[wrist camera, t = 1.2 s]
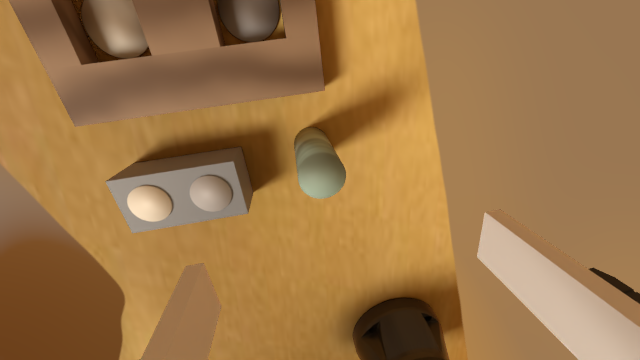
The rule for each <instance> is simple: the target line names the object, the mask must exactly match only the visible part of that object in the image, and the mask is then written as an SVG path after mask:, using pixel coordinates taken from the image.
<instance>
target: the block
mask: <svg viewBox="0 0 640 360" xmlns="http://www.w3.org/2000/svg"><path fill="white" fill-rule="evenodd" d="M105 182H106V184H107V185H108V187H109V189H110V191H111V193H112V195H113V197H114V199H115V201H116V203H117V205H118V206H119V208H120V210H121V212H122V214H123V216H124V218H125V220H126V222H127V224H128V226H129V227H130V229H131V231H132V233H137V232H143V231H149V230H155V229H161V228H166V227H172V226H178V225H184V224H190V223H195V222H201V221H207V220H213V219H219V218H225V217H230V216H236V215H242V214H248V212H249V208H250V204H251V200H252V196H253V190H252V186H251V182H250V178H249V174H248V171H247V167H246V163H245V159H244V155H243V152H242V148H241V147H235V148H228V149H222V150H216V151H209V152H203V153H196V154H190V155H183V156H177V157H170V158H164V159H158V160H151V161H145V162H138V163H133V164H132V165H130V166H128V167H127V168H125V169H124V170H122V171H121V172H119V173H118V174H116V175H115V176H113V177H112V178H110V179H109V180H107V181H105Z"/></svg>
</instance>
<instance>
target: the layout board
mask: <svg viewBox="0 0 640 360" xmlns="http://www.w3.org/2000/svg"><path fill="white" fill-rule="evenodd" d="M9 2H10V4H11V6H12V8H13V9H14V11H15V13H16V15H17V17H18V19H19V21H20V23H21V25H22V27H23V28H24V30H25V32H26V34H27V36H28V38H29V40H30V42H31V44H32V46H33V47H34V49H35V51H36V53H37V55H38V57H39V59H40V61H41V63H42V65H43V66H44V68H45V70H46V72H47V74H48V76H49V78H50V80H51V82H52V84H53V85H54V87H55V89H56V91H57V93H58V95H59V97H60V99H61V101H62V103H63V104H64V106H65V108H66V110H67V112H68V114H69V116H70V118H71V120H72V121H73V123H74V125H75V127H77V126H83V125H90V124H97V123H104V122H111V121H118V120H125V119H132V118H139V117H146V116H153V115H159V114H166V113H173V112H180V111H187V110H194V109H201V108H208V107H215V106H222V105H228V104H235V103H242V102H249V101H256V100H263V99H270V98H277V97H284V96H291V95H298V94H304V93H311V92H318V91H325V87H324V78H323V69H322V59H321V50H320V41H319V32H318V23H317V14H316V5H315V0H280V4H281V11H282V17H283V23H284V30H285V36H286V38H283V39H276V40H268V41H262V40H264V39H266V38H267V37H268V36H270V35H271V34H272V32H273V31H274V29H275V27H276V25H277V22H278V18H279V5H278V0H218V11H219V15H220V18H221V20H222V22H223V24H224V25H225V27H226V28H227V29H228V31H229V32H230V33H231V34H233V35H234V36H235V37H237V38H238V39H240V40H243V41H246V42H253V43H245V44H237V45H230V46H225V43H224V39H223V35H222V31H221V26H220V22H219V18H218V14H217V10H216V6H215V2H214V0H84V1H83V4H82V9H81V16H82V21H83V25H84V28H85V30H86V32H87V34H88V35H89V37H90V38H91V39H92V41H93V42H94V43H95V44H96V45H97V46H98V47H99V48H100V49H102V50H103V51H104V52H106V53H108V54H110V55H112V56H115V57H118V58H125V59H123V60H115V61H107V62H100V63H99V62H98V59H97V57H96V55H95V53H94V50H93V48H92V46H91V44H90V41H89V39H88V37H87V34H86V32H85V30H84V28H83V25H82V23H81V21H80V19H79V16H78V14H77V12H76V10H75V7H74V5H73V3H72V1H71V0H9ZM259 41H260V42H259ZM148 47H149V49H150V52H151V55H152V56H146V57H138V56H140V55H142V54H143V53H144V52H145V51H146V50H147V49H148ZM135 57H138V58H135Z"/></svg>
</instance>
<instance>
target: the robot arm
mask: <svg viewBox="0 0 640 360" xmlns="http://www.w3.org/2000/svg"><path fill="white" fill-rule="evenodd" d="M477 257H478V258H479V259H480V260H481V261H482V263H484V264H485V265H486V267H488V268H489V269H490V271H491V272H492V273H493V274H494V275H495V276H496V277H497V278H498V279H499V280H500V281H501V282H502V283H503V284H504V285H505V286H506V287H507V288H508V289H509V290H510V291H511V292H512V293H513V294H514V295H515V296H516V297H517V298H518V299H519V300H520V301H521V302H522V303H523V304H524V305H525V306H526V307H527V308H528V309H529V310H530V311H531V312H532V313H533V314H534V315H535V316H536V317H537V318H538V319H539V320H540V321H541V322H542V323H543V324H544V325H545V326H546V327H547V328H548V329H549V330H550V331H551V332H552V333H553V334H554V335H555V336H556V337H557V338H558V339H559V340H560V341H561V342H562V343H563V344H564V345H565V346H566V347H567V348H568V349H569V350H570V351H571V352H572V353H573V354H574V355H575V356H576V358H578V359H579V360H640V294H639V293H638V292H634V291H633V289H632V288H630V287H628V286H627V285H625V284H624V283H622V282H621V281H619V280H618V279H616V278H615V277H612V276H610V275H608V274H606V273H604V272H601V271H599V270H597V269H595V268H590V269H587V268H586V267H584V266H583V265H581V264H580V263H579V262H577V261H575V260H574V259H573V258H571V257H570V256H568V255H567V254H565V253H564V252H562V251H561V250H559V249H558V248H556V247H555V246H554V245H552V244H551V243H549V242H548V241H546V240H545V239H543V238H542V237H540V236H539V235H537V234H536V233H534V232H533V231H531V230H530V229H528V228H527V227H526V226H524V225H523V224H521V223H520V222H518V221H517V220H515V219H514V218H512V217H511V216H509V215H508V214H506V213H505V212H504V211H502V210H500V209H499V210H493V211H488V212H485V215H484V220H483V226H482V232H481V237H480V244H479V249H478V254H477ZM220 309H221V304H220V302H219V299H218V297H217V294H216V292H215V290H214V287H213V285H212V282H211V280H210V278H209V275H208V273H207V270H206V268H205V265H204V263H200V264H195V265H189V266H186V267H185V269H184V271H183V273H182V275H181V277H180V279H179V281H178V283H177V285H176V287H175V290H174V292H173V294H172V296H171V298H170V300H169V302H168V304H167V306H166V308H165V310H164V312H163V314H162V316H161V319H160V321H159V323H158V325H157V327H156V329H155V331H154V333H153V335H152V337H151V339H150V341H149V343H148V345H147V347H146V350H145V352H144V354H143V356H142V358H141V360H207V359H208V355H209V352H210V348H211V344H212V340H213V336H214V332H215V328H216V325H217V321H218V317H219V313H220ZM353 340H354V344H355V348H356V352H357V354H358V356H359V358H360V360H449V357H448V353H447V349H446V345H445V340H444V336H443V332H442V328H441V324H440V322H439V320H438V318H437V316H436V315H435V313H434V311H433V310H432V308H431V307H430V306H429V305H428V304H426V303H425V302H423V301H420V300H417V299H412V298H399V299H393V300H389V301H386V302H383V303H381V304H379V305H377V306H375V307H373V308H372V309H370V310H369V311H367V312H366V313H365V314H364V315H363V316H362V317H361V318H360V319H359V321H358V322H357V324H356V326H355V328H354V331H353Z"/></svg>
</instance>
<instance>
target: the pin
mask: <svg viewBox="0 0 640 360" xmlns="http://www.w3.org/2000/svg"><path fill="white" fill-rule="evenodd" d="M294 147H295V156H296V164H297V173H298V181H299V185H300V187H301V189H302V190H303V191H304V192H305V193H306V194H307V195H309V196H311V197H313V198H319V199H322V198H328V197H331V196H333V195H335V194H336V193H337V192H339V191H340V189H341V188H342V187H343V185H344V183H345V179H346V171H345V168H344V166H343V164H342V162H341V161H340V159H339V157H338V155H337V154H336V152H335V150H334V149H333V147H332V145H331V143H330V142H329V140H328V138H327V137H326V135H325V133H324V132H323V131H322V130H320V129H318V128H315V127H308V128H305V129H303V130H301V131H300V132H299V133H298V134H297V136H296V138H295V141H294Z"/></svg>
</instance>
